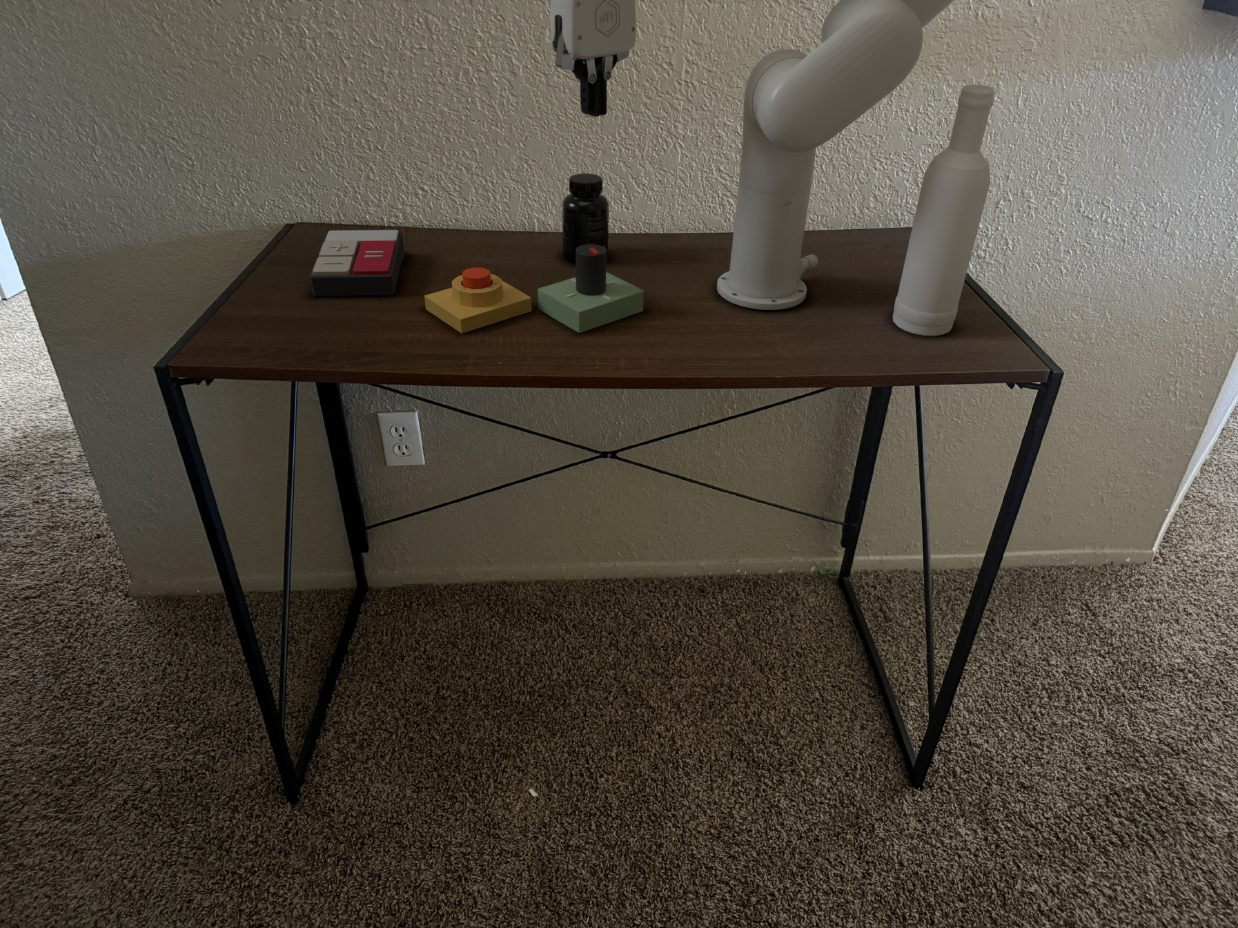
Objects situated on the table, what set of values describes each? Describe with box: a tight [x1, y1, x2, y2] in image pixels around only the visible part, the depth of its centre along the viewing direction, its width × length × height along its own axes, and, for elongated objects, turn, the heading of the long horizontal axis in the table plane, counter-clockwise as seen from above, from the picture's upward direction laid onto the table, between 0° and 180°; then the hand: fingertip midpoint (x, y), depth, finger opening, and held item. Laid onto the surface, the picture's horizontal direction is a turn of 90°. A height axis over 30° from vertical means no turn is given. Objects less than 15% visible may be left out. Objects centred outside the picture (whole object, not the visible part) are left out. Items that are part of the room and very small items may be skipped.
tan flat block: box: [423, 273, 533, 334], centre depth 120 cm, size 11×9×4 cm
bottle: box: [892, 83, 996, 337], centre depth 113 cm, size 8×8×30 cm
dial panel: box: [537, 271, 645, 334], centre depth 121 cm, size 11×9×3 cm
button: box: [461, 267, 491, 289], centre depth 118 cm, size 4×4×2 cm
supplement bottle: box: [562, 172, 610, 265], centre depth 134 cm, size 7×7×12 cm
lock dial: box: [575, 244, 608, 295], centre depth 119 cm, size 4×4×6 cm
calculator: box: [308, 229, 405, 297], centre depth 128 cm, size 11×4×15 cm
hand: (593, 113), depth 114 cm, fingers closed
